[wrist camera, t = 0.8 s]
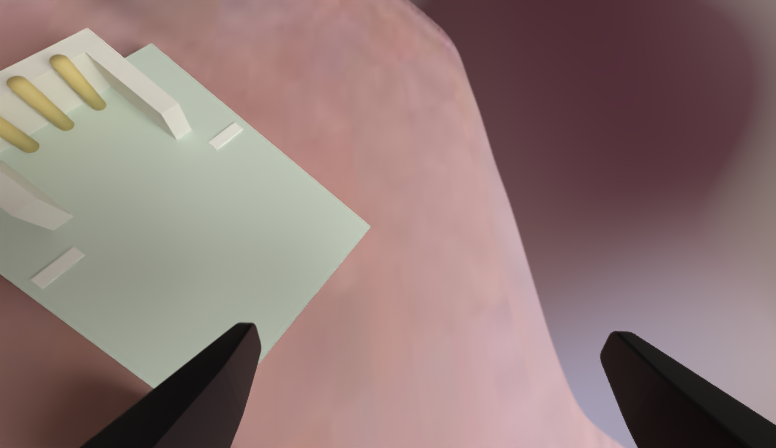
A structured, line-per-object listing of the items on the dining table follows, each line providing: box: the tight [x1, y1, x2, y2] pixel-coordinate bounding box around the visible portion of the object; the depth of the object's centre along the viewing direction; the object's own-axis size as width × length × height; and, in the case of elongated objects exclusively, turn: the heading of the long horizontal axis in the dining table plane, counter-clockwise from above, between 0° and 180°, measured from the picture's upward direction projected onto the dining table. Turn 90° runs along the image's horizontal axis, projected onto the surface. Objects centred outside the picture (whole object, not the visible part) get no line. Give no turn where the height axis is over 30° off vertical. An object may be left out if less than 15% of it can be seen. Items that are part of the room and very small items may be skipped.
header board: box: [0, 28, 371, 388], centre depth 16 cm, size 17×13×4 cm
